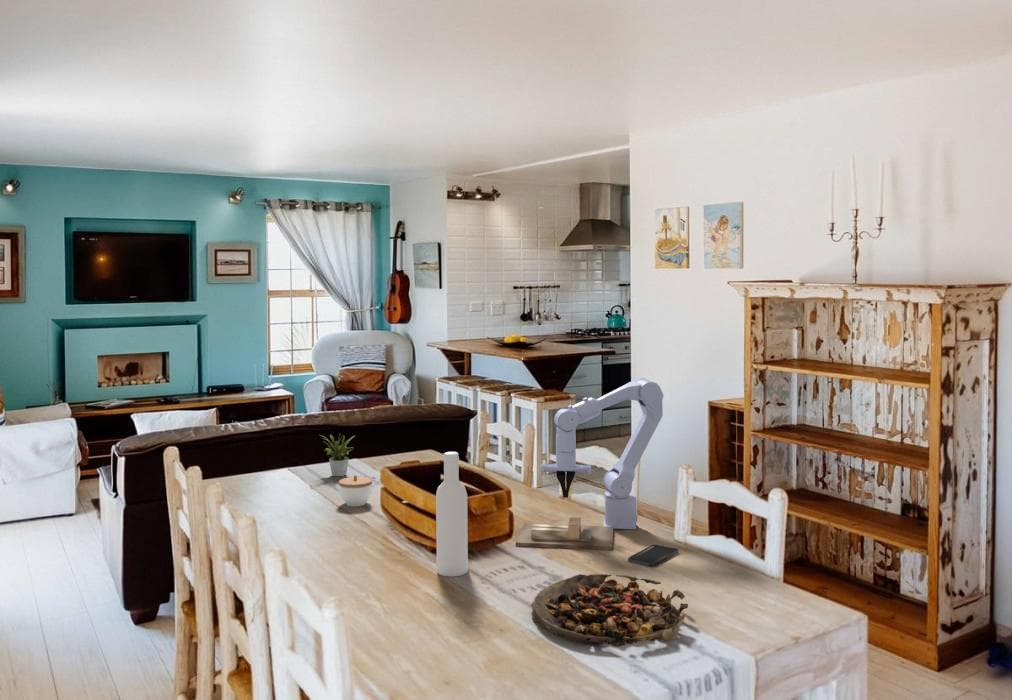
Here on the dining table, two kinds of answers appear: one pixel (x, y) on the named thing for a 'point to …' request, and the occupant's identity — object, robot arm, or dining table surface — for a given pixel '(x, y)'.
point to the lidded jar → (355, 490)
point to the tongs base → (596, 542)
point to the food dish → (606, 611)
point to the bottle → (451, 521)
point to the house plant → (338, 456)
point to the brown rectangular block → (574, 529)
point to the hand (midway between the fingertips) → (565, 496)
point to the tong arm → (549, 526)
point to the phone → (653, 555)
